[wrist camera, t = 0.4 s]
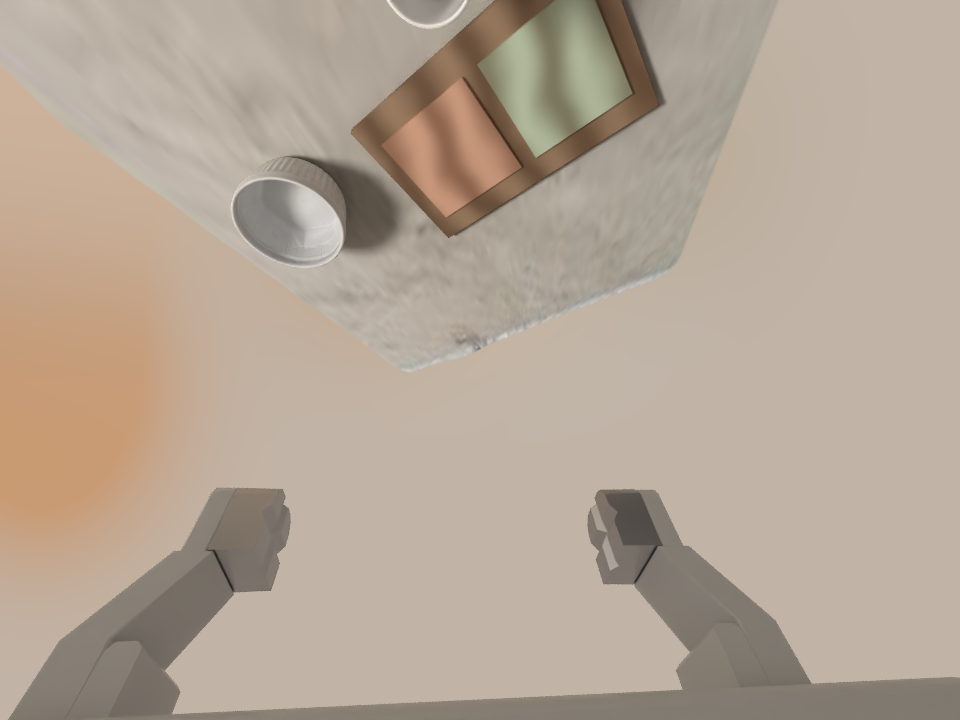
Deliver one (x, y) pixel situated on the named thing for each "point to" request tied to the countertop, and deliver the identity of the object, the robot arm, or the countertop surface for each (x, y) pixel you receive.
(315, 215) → the ramekin
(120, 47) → the countertop surface
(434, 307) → the countertop surface
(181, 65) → the countertop surface
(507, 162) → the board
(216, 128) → the countertop surface
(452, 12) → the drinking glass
